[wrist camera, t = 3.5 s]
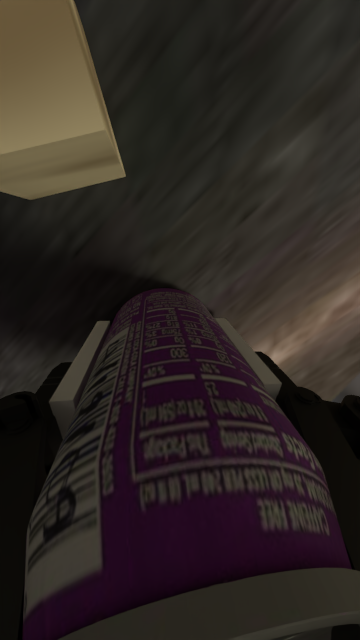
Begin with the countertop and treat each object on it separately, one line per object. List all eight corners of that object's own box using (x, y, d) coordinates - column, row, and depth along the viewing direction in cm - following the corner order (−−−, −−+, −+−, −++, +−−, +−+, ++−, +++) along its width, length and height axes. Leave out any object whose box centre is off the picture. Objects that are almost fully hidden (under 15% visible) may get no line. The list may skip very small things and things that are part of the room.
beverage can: (122, 377, 15) (47, 750, 4) (103, 289, 12) (-322, 789, 1) (209, 366, 16) (338, 657, 5) (212, 281, 13) (550, 544, 2)
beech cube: (-39, 57, 8) (-311, -196, 3) (83, 30, 8) (-8, -248, 3) (31, 200, 10) (-72, 171, 5) (126, 177, 10) (105, 129, 5)
